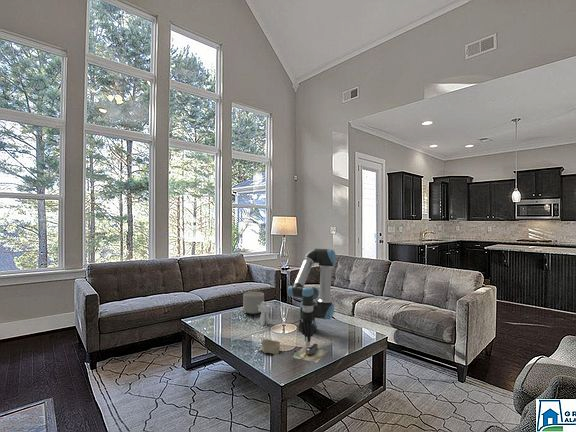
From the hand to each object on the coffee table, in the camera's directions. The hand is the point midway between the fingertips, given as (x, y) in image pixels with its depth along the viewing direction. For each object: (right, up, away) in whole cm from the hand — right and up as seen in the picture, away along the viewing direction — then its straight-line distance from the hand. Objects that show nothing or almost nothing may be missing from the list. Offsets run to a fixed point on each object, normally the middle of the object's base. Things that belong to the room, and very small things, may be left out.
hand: (307, 346), depth 216 cm
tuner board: (+1, -2, -10) cm, 10 cm away
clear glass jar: (-32, -3, +54) cm, 63 cm away
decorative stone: (-25, -3, -5) cm, 26 cm away
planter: (-45, -3, +82) cm, 94 cm away
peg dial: (+1, -1, -10) cm, 10 cm away
